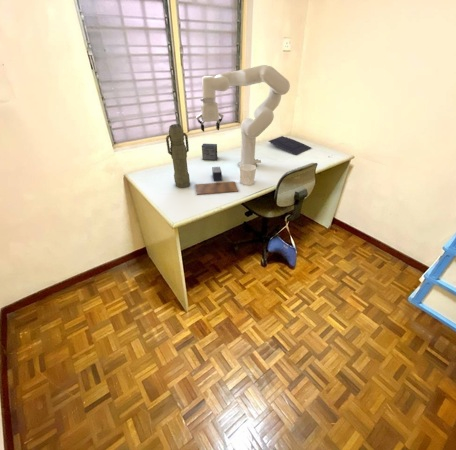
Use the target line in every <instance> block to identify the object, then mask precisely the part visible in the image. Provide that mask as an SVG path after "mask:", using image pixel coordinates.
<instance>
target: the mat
mask: <svg viewBox="0 0 456 450" xmlns="http://www.w3.org/2000/svg"><path fill="white" fill-rule="evenodd" d="M195 189H196V195H197V196H198V195H199V196H201V195H211V194H212V195H214V194H224V193H225V194H226V193H239V189H238V187H237V184H236V182H235V181H225V182H224V181H223V182H214V183H213V182H211V183H198V184H197V183H196V184H195Z"/></svg>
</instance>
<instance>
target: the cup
mask: <svg viewBox="0 0 456 450" xmlns="http://www.w3.org/2000/svg"><path fill="white" fill-rule="evenodd" d="M256 172H257V165H256V166H254V165H251V164H244V165H241V166H239V177H240V184H242V185H243V186H250V185H251V186H252V185H254V182H255V176H256Z"/></svg>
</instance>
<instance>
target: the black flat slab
mask: <svg viewBox="0 0 456 450" xmlns="http://www.w3.org/2000/svg"><path fill="white" fill-rule="evenodd" d="M268 142H269V143H270V144H272V146H275V147H278V148H280V149H282V150H284V151H286V152H288V153H290V154H293V155H295V156H297V155H299V154H301V153H303V152H305V151H307V150H310V149H312V147H311V146H309V145H306V144H305V143H303V142H301V141H298V140H297V139H296V140H295V139H293V138H290V137H288V136H284V135H281V136H278V137H275V138H273V139H270V140H268Z"/></svg>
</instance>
